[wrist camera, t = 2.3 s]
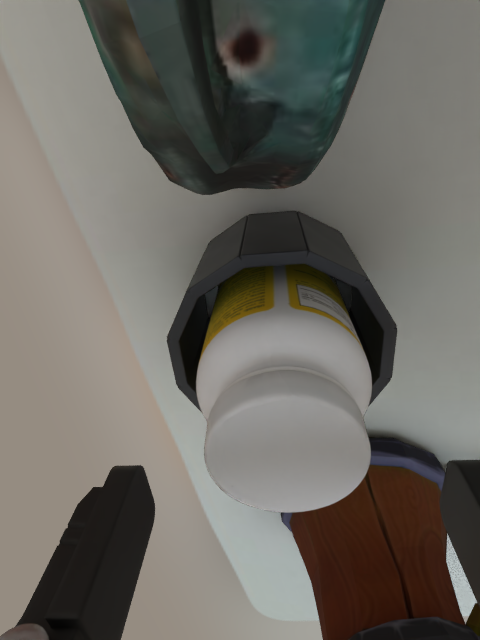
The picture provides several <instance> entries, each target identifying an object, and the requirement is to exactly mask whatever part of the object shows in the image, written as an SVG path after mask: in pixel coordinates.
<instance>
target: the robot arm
mask: <svg viewBox="0 0 480 640" xmlns="http://www.w3.org/2000/svg"><path fill="white" fill-rule="evenodd" d="M440 512H441V517H442V520H443V523H444V526H445V529H446V531H447V533H448V535H449V538H450V540H451V542H452V545H453V547H454V549H455V552H456V554H457V556H458V559H459V561H460V563H461V566H462V568H463V570H464V573H465V575H466V577H467V579H468V582H469V584H470V586H471V589H472V591H473V593H474V596H475V598H476V600H477V603H478V605H479V607H480V460H452V461H449V462H448V464H447V468H446V472H445V477H444V482H443V486H442V491H441V496H440ZM154 517H155V503H154V499H153V496H152V492H151V489H150V486H149V483H148V480H147V476H146V473H145V470H144V468H143V466H141V465H140V466H114V467H113V468H112V469H111V471H110V473H109V475H108V477H107V479H106V481H105V484H104V486H103V487H93V488H92V490H91V491H90V492H89V493H88V494H87V495H86V496H85V497H84V498H83V499H82V500H81V501H80V503H79V504H78V505H77V507H76V509H75V511H74V513H73V515H72V517H71V519H70V521H69V523H68V528H67V529H66V530H65V531H64V534H63V536H62V537H61V540H60V544H59V546H57V548H56V550H55V552H54V554H53V556H52V558H51V560H50V562H49V564H48V566H47V568H46V570H45V572H44V574H43V576H42V578H41V580H40V582H39V584H38V586H37V588H36V590H35V592H34V594H33V596H32V598H31V600H30V602H29V604H28V606H27V608H26V610H25V612H24V614H23V616H22V617H21V619H20V620H19V622H18V623H17V625H16V626H15V627H14V628H12V629H10V630H8V631H7V632H5V633H4V634H2V635H1V636H0V640H121V637H122V633H123V630H124V626H125V622H126V619H127V615H128V612H129V608H130V605H131V601H132V598H133V594H134V591H135V587H136V584H137V580H138V577H139V573H140V569H141V566H142V562H143V559H144V556H145V552H146V548H147V545H148V541H149V538H150V534H151V531H152V527H153V523H154Z"/></svg>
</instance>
